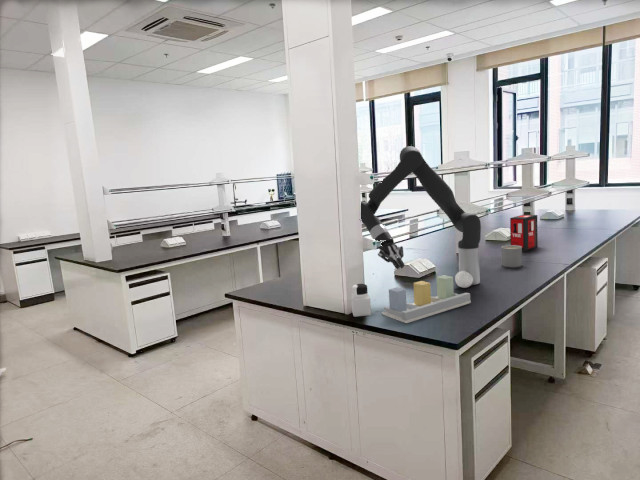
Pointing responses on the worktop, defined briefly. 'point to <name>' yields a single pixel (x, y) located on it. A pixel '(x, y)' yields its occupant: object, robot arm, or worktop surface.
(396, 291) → the blue-grey block
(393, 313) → the white divided tray
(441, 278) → the pale green block
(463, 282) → the crumpled paper ball
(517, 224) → the cleaning product box
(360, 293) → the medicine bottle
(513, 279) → the worktop surface
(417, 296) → the yellow rectangular block
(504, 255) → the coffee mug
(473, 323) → the worktop surface
